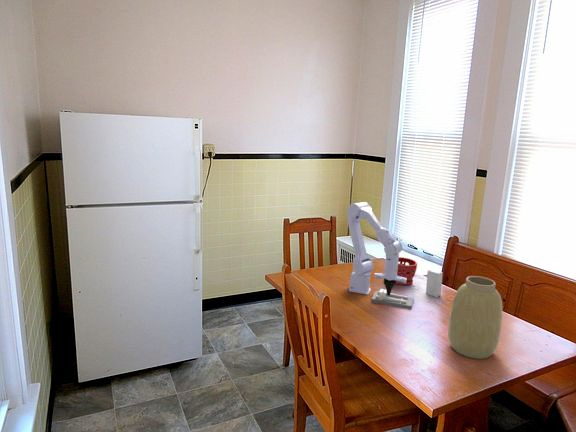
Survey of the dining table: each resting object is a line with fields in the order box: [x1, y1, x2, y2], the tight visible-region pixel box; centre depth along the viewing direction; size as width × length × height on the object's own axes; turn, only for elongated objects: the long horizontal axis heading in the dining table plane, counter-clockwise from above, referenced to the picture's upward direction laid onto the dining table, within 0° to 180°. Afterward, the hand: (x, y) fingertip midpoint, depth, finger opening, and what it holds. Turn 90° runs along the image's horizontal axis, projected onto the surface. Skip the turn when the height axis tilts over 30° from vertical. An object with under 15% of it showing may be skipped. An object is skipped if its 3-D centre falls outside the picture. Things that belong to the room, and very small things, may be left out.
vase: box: [447, 275, 503, 360], centre depth 149 cm, size 17×17×27 cm
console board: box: [370, 290, 414, 310], centre depth 192 cm, size 18×10×2 cm, turn 68°
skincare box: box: [425, 268, 444, 298], centre depth 201 cm, size 6×4×12 cm
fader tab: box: [379, 288, 387, 297], centre depth 193 cm, size 3×4×3 cm
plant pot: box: [395, 256, 418, 286], centre depth 216 cm, size 13×13×12 cm
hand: (388, 294), depth 192 cm, fingers closed
